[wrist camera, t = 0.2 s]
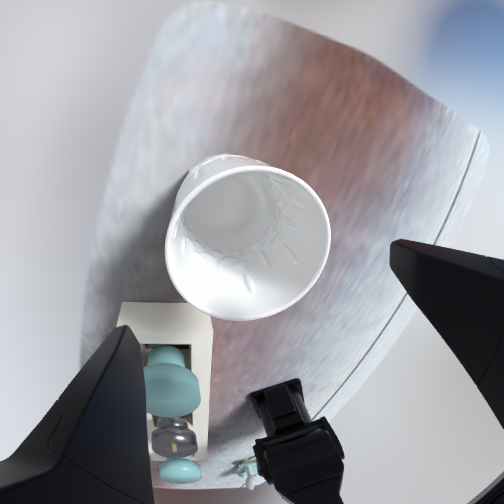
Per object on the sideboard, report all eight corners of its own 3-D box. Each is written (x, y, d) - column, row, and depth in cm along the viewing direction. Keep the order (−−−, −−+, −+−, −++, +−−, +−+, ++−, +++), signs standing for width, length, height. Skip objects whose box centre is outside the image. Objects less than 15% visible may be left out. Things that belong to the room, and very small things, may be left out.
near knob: (195, 377, 25) (200, 416, 21) (140, 376, 24) (138, 416, 20) (196, 336, 23) (201, 378, 19) (133, 335, 22) (127, 377, 18)
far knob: (197, 455, 32) (201, 482, 28) (160, 455, 31) (162, 483, 27) (196, 439, 30) (201, 470, 26) (155, 439, 29) (156, 470, 25)
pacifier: (270, 450, 43) (237, 455, 41) (280, 478, 37) (245, 485, 36) (264, 464, 46) (234, 469, 44) (273, 489, 40) (242, 496, 39)
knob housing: (203, 437, 36) (207, 459, 33) (150, 438, 34) (151, 460, 31) (207, 302, 26) (213, 331, 22) (122, 301, 24) (115, 330, 20)
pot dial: (193, 423, 28) (198, 459, 24) (153, 423, 27) (155, 460, 23) (192, 401, 27) (197, 441, 22) (148, 401, 25) (148, 441, 21)
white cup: (286, 162, 22) (354, 195, 13) (255, 252, 25) (296, 328, 16) (187, 133, 19) (189, 144, 11) (162, 233, 22) (152, 309, 13)
